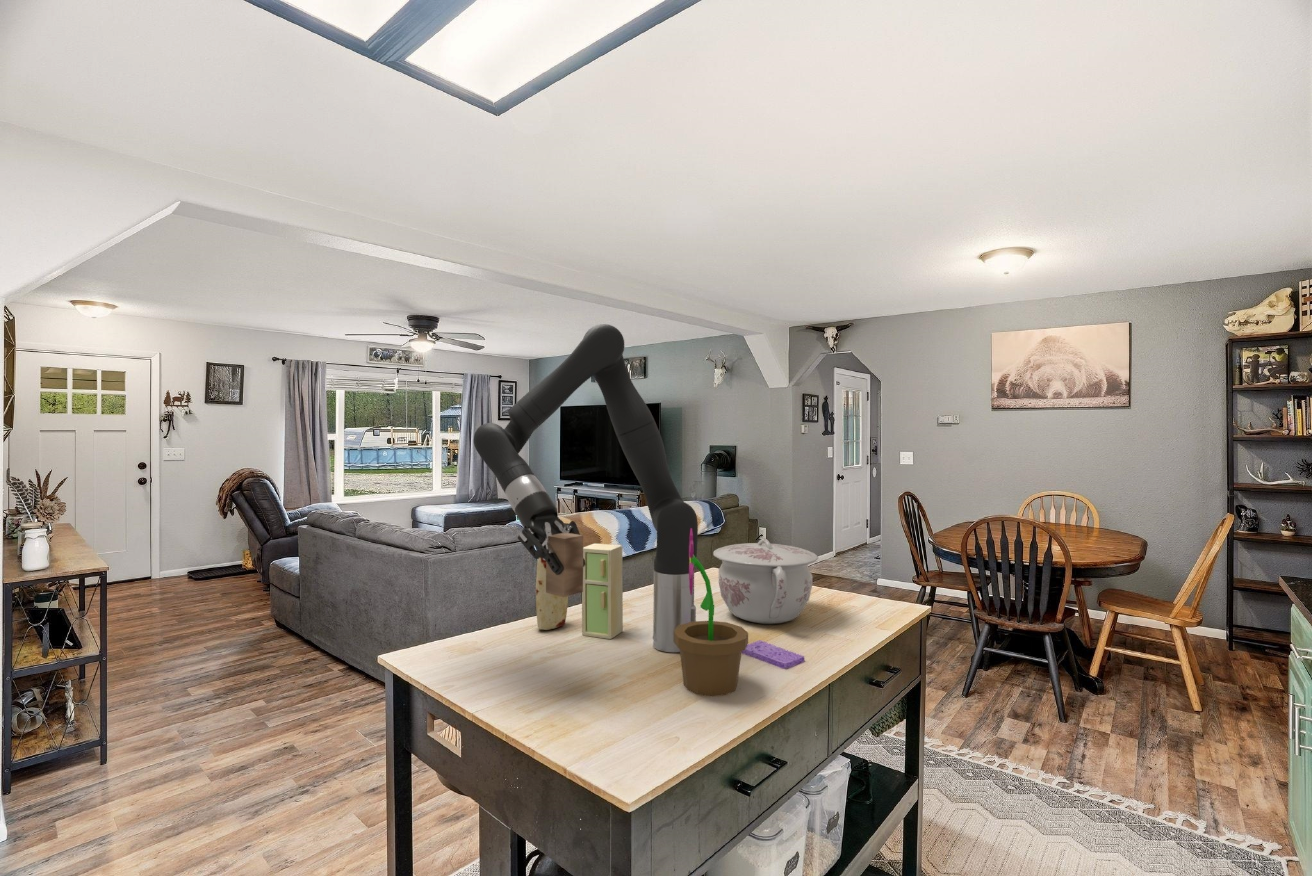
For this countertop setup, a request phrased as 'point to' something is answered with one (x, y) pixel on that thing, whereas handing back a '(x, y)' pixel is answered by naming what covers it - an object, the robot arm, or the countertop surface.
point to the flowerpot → (709, 646)
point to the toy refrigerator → (602, 591)
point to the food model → (548, 602)
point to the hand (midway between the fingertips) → (571, 569)
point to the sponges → (773, 654)
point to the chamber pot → (765, 580)
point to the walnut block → (566, 565)
